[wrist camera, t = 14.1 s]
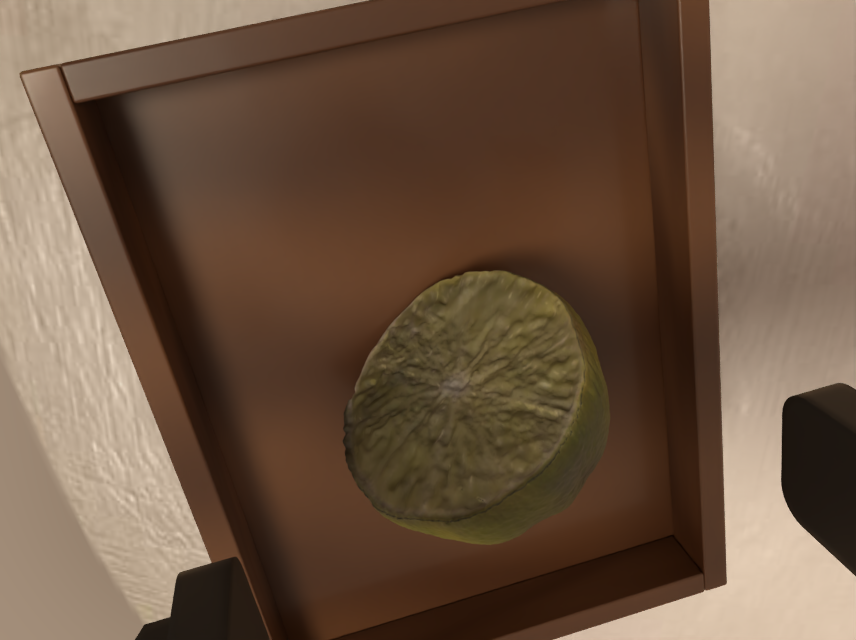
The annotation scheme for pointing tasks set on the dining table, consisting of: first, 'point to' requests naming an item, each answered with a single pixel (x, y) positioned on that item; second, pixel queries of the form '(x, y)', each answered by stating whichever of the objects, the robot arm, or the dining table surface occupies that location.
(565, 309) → the lime
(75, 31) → the dining table surface
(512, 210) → the tray
